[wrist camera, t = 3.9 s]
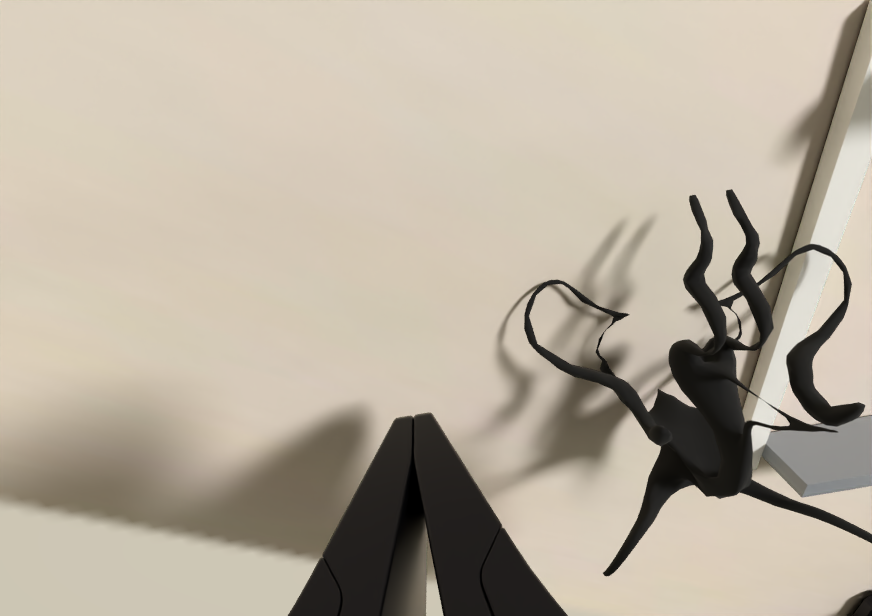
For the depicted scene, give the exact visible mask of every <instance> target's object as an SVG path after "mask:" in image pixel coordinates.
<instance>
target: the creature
mask: <svg viewBox="0 0 872 616" xmlns="http://www.w3.org/2000/svg"><path fill="white" fill-rule="evenodd" d="M726 196H727V199H728V202H729V205H730V207H731V210H732V212H733V215H734V216H735V218H736V219H737V221H738V222H739V224H740V225H741V227H742V229H743V231H744V233H745V235H746V245H745V247H744V249H743V251H742V252H741V254H740V255H739V256H738V258H737V259H736V261H735V263H734V265H733V268H732V279H733V283H734V285H735V286H736V287H737V288H738V290H739V291H740V292H739V293H737V294H735V295H733V296H731V297H728V298H726V299H723V300H720V301H718V299H717V297H716V296H715V295H714V293H713V292H712V291H711V289H710V288H709V287H708V285H707V284H706V282H705V277H704V273H705V271H706V269H707V267H708V266H709V264H710V262H711V259H712V253H713V239H712V237H711V235H710V232H709V230H708V227H707V221H706V218H705V216H704V213H703V211H702V208H701V206H700V203H699V201H698V199H697V197H696V195H692V196H689V202H690V206H691V210H692V212H693V215H694V217H695V219H696V222H697V224H698V226H699V228H700V230H701V245H700V250H699V253H698V255H697V258H696V260H695V261H694V262H693V263H692V264H691V265H690V267H689V268H688V269H687V271H686V273H685V275H684V278H683V281H684V285H685V288H686V290H687V291H688V292H689V293H690V294H691V295H692V297H693V298H694V299H695V300H696V301H697V302H698V304H699V305H700V306H701V308H702V310H703V312H704V314H705V316H706V319H707V321H708V323H709V325H710V327H711V329H712V331H713V334H714V338H712V339H710V340H709V341H708V343H707V344H706V346H705V347H704V348H703V349H701V348H700V347H699V346H698V345H696V344H695V343H694V342H692V341H691V340H681V341H678V342H676V343H674V344H673V345H672V346H671V348H670V350H669V365H670V368H671V371H672V374H673V377H674V378H675V380H676V382H677V383H678V385H679V387H680V388H681V390H682V391H683V392H684V394H685V395H686V396H687V397H688V398H689V399H690V400H691V402H692V403H693V404H694V405H695V406H696V407H697V408H694V407H689V406H688V405H686V404H684V403H682V402H681V401H679V400H678V399H677V398H675V397H674V396H672V395H669V394H666V393H664V392H663V391H661V390H659V389H658V394H657V398H656V400H655V403H654V407H653V408H652V409H651V410H650V411H649V412H648V411H647V410H646V408H645V406H644V404H643V403H642V401H641V399H640V397H639V396H638V394H637V392H636V391H635V390H634V389H633V388H632V387H631V386H630V385H629V383H627V382H626V381H624V380H623V379H620V378H618V377H616V376H615V375H614V373H613V372H612V371H611V370H610V368H609V366H608V363H607V361H606V360H605V359H604V358H603V357H601V356H600V354H599V351H598V347H599V345H600V342H601V340H602V337H603V334H604V333H603V334H602V336H601V337H600V338H599V342H598V346H597V349H596V354H597V355H598V357H599V358H600V359H601V360H602V363H601V367H600V370H601V372H600V371H596V370H593V369H589V368H584V367H580V366H575V365H571V364H569V363H567V362H566V361H564V360H563V359H561V358H559V357H558V356H556V355H554V354H553V353H551V352H550V351H548V350H546V349H545V348H543V347H541V346H540V345H538V344H537V341H536V338H535V335H534V331H533V328H532V325H531V321H530V318H529V314H530V311H531V309H532V306H533V303H534V300H535V297H536V295H537V294H538V293H539V292H540V291H542V290H543V289H544V288H545V287H546V286H547V285H552V284H563V285H564V286H566V287H568V288H569V289H570V290H571V291H572V292H573V293H574V294H575V295H576V296H577V297H578V298H579V299H580V300H581V301H582V302H584V303H586V304H588V305H590V306H592V307H594V308H597V309H599V310H601V311H603V312H605V313H608V314H610V315H611V316H613V321H612V323H611V325H610V326H612V325H613V324H614V323H615V322H616V321H618V320H621V319H623V318H624V317H626V316H628V315H629V314H626V313H619V312H615V311H612V310H609V309H605V308H602V307H599V306H597V305H596V304H595V303H593V302H592V301H591V300H589V299H588V298H587V297H585V296H584V295H583V294H581V293H580V292H579V291H577V290H576V289H575V288H573V287H572V286H570V285H569V284H567V283H566V282H564V281H560V280H549V281H547V282H544V283H543V284H542V285H541V286H539V287H538V288H537V289H536V291H535V292H534V293H533V295H532V296H531V298H530V300H529V302H528V303H527V307H526V311H525V323H524V329H525V332H526V335H527V338H528V341H529V343H530V344H531V346H532V347H533V348H534V349H535V350H536V351H537V352H538V353H539V354H540V355H542V356H543V357H544V358H546V359H547V360H548V361H550V362H551V363H552V364H553V365H554V366H556V367H557V368H558V369H560V370H562V371H564V372H566V373H568V374H570V375H572V376H574V377H577V378H581V379H585V380H589V381H593V382H596V383H599V384H601V385H604V386H606V387H608V388H610V389H613V390H614V392H615V393H616V394H617V396H618V397H619V399H620V400H621V401H622V402H623V403H624V404H625V405H626V406H627V407H628V408H629V409H630V410H631V411H632V413H633V414H634V416H635V418H636V419H637V421H638V422H639V424H640V425H641V427H642V428H643V430H644V431H645V433H646V435H647V436H648V438H649V439H650V440H651V441H653V442H654V443H655V444H657V445H659V446H661V450H660V454H659V456H658V458H657V460H656V462H655V464H654V467H653V469H652V471H651V473H650V475H649V478H648V482H647V487H646V491H645V495H644V499H643V503H642V507H641V510H640V513H639V515H638V518H637V520H636V522H635V524H634V526H633V528H632V529H631V531H630V533H629V535H628V537H627V538H626V540H625V542H624V544H623V545H622V547H621V549H620V550H619V552H618V554H617V555H616V557H615V558H614V560H613V561H612V563H611V564H610V566H609V567H608V568H607V570H606V571H605V572H603V574H604V575H605V576H610V575H611V574H612V573H614V572H615V571H616V570H617V569H618V568H619V567H620V565H621V564H622V563H623V562H624V561H625V559H626V558H627V557H628V555H629V554H630V553H631V551H632V550H633V549H634V547H635V546H636V545H637V543H638V542H639V540H640V539H641V538H642V536H643V535H644V534H645V532H646V531H647V530H648V528H649V527H650V526H651V524H652V523H653V522H654V520H655V518H656V516H657V515H658V513H659V511H660V509H661V507H662V506H663V505H664V503H665V502H666V501H667V500H668V498H669V497H670V496H671V495H672V494H674V493H675V492H677V491H678V490H680V489H682V488H685V487H687V486H691V485H695V486H696V487H698V488H699V489H700V490H701V491H702V492H703V493H704V494H705V495H706V497H708V496H716V497H718V498H719V499H721V498H724V497H730V496H734V495H737V494H738V493H739V492H740V493H743V494H746V495H749V496H752V497H754V498H757V499H759V500H762V501H764V502H767V503H769V504H772V505H774V506H777V507H781V508H784V509H788V510H791V511H794V512H797V513H801V514H804V515H807V516H810V517H813V518H816V519H819V520H821V521H824V522H827V523H829V524H832V525H834V526H836V527H839V528H841V529H843V530H845V531H848V532H850V533H852V534H854V535H856V536H858V537H860V538H862V539H864V540H866V541H868V542H870V543H872V534H870V533H869V532H867V531H865V530H863V529H861V528H859V527H857V526H855V525H853V524H851V523H849V522H847V521H845V520H843V519H841V518H839V517H837V516H835V515H832V514H830V513H828V512H826V511H824V510H821V509H819V508H816V507H813V506H810V505H807V504H803V503H800V502H798V501H795V500H792V499H790V498H788V497H785V496H783V495H781V494H779V493H777V492H775V491H773V490H770V489H768V488H766V487H765V486H763V485H761V484H759V483H757V482H755V481H753V480H751V478H752V458H753V446H752V435H751V430H752V428H753V426H755V425H758V426H762V427H766V428H770V429H774V430H791V431H807V432H819V431H825V432H834V433H838V431H836V430H831V429H827V428H822V427H818V426H813V425H809V424H806V423H804V422H802V421H800V420H797V419H795V418H793V417H791V416H789V415H787V414H786V413H784V412H782V411H781V410H779V409H777V408H775V407H774V406H772V405H770V404H769V403H767V402H766V401H765V402H766V403H767V404H768V405H770V406H771V407H772V408H773V409H775V410H776V411H778V412H779V413H780V414H782V415H783V416H785V417H786V418H787V420H788V421H789V423H790V425H789V426H781V427H780V426H772V425H767V424H764V423H760V422H757V421H752V420H749V421H746V422H745V419H744V416H743V412H742V408H741V403H740V399H739V395H738V388H737V385H738V386H740V387H742V388H743V389H745V390H746V391H748V392H749V393H751V394H753V395H755V396H756V397H758V398H760V397H759V396H757V395H756V394H754V393H753V392H752V391H750V390H749V389H748V388H747V387H745V386H744V385H743V384H742V383H741V382H740V381H739V380H738V379H737V378H736V358H735V354H734V351H733V350H750V351H756V350H757V349H759V348H761V347H762V346H763V345H764V343H765V342H766V340H767V339H768V337H769V335H770V334H771V332H772V330H773V329H774V325H773V320H772V314H771V308H770V305H769V304H768V302H767V300H766V298H765V297H764V295H763V293H762V291H761V290H760V288H759V285H761V284H762V283H764V282H765V281H767V280H768V279H770V278H771V277H773V276H774V275H776V274H777V273H778V272H779V271H780V270H781V269H782V268H783V267H784V266H785V265H786V264H788V263H789V262H790V261H791V260H792V259H793V258H794V257H795V256H796V255H799V254H802V253H805V252H808V251H811V250H815V251H818V252H820V253H822V254H825V255H827V256H829V257H831V258H832V259H833V260H834V261H835V263H836V264H837V265H838V266H839V268H840V269H841V270H842V271H843V275H844V301H843V302H842V303H841V304H840V306H839V307H838V308H837V309H836V310H835V311H834V313H833V314H832V315H831V316H830V317H829V318H828V320H827V321H826V322H825V323H824V324H823V325H822V327H821V328H820V329H819V330H818V331H817V332H815V333H813V334H812V335H810V336H808V337H807V338H805V339H804V340H802V341H800V342H799V343H797V344H796V345H795V346H794V347H793V348H792V349H791V350H790V352H789V353H788V354H787V356H786V365H787V369H788V375H789V381H790V385H791V388H792V391H793V393H794V394H795V396H796V397H797V399H798V400H799V402H800V403H801V405H802V407H803V408H804V409H805V410H806V411H807V413H808V414H809V415H811V416H812V417H813V418H814V419H816V420H817V421H819V422H821V423H823V424H824V425H827V426H835V427H837V426H840V425H843V424H846V423H848V422H851V421H853V420H855V419H857V418H858V417H859V416H860V415H861V414H862V412H863V411H864V408H865V405H864V404H861V403H859V402H858V403H853V404H846V405H838V406H832V407H831V406H830V405H829V403H828V402H827V401H826V400H825V399H824V398H823V397H822V396H821V395H820V393H819V392H818V391H817V390H816V389H815V387H814V384H813V370H812V361H813V358H814V356H815V354H816V353H817V351H818V350H819V348H820V347H821V346H822V345H823V344H824V343H825V342H826V341H827V340H828V339H829V338H830V336H831V335H832V333H833V332H834V331H835V329H836V328H837V326H838V325H839V324H840V322H841V321H842V319H843V318H844V315H845V313H846V310H847V307H848V302H849V297H850V291H851V285H852V283H851V280H850V277H849V274H848V271H847V268H846V266H845V265H844V263H843V262H842V261H841V259H840V258H839V257H838V256H837V255H836V254H835V253H833V252H832V251H831V250H830V249H828V248H826V247H823V246H821V245H817V244H808V245H805V246H803V247H801V248H799V249H797V250H795V251H794V252H793V253H792V254H790V255H789V256H788V257H787V258H786V259H785V260H784V261H782V262H781V263H780V264H779V265H778V266H777V267H775V268H774V269H773V270H772V271H771V272H770V273H768V274H767V275H766V276H765V277H764V278H763V279H762V280H760V281H759V282H758V283H756V281H755V280H754V278H753V277H752V275H751V274H750V273H751V270H752V268H753V266H754V265H755V263H756V261H757V255H758V248H759V244H760V241H759V235H758V233H757V232H756V231H755V229H754V228H753V226H752V225H751V223H750V221H749V219H748V217H747V215H746V213H745V211H744V210H743V208H742V206H741V204H740V202H739V200H738V199H737V197H736V195H735V193H734V192H733V190H732V189H731V190H726ZM741 296H744V297H745V298H746V300H747V302H748V305H749V307H750V309H751V312H752V314H753V317H754V319H755V321H756V324H757V326H758V329H759V331H760V342H758V343H756V344H754V345H753V346H751V347H748V346H745V345H744V344H742V343H741V342H739V341H738V340H739V339H740V337H741V335H742V330H741V321H740V319H739V318H738V316H737V314H736V313H735V312H734V311H733V310H732V309H731V306H732V304H733V301H734V300H736V299H737V298H739V297H741ZM721 306H725V307H728V308H729V309H730V310H731V311H733V312H734V313H735V314H736V316H737V319H738V324H739V329H740V332H739V335H738V337H737V338H735V339H733V338H731V337H728V336H727V330H726V316H725V314H724V312H723V310H722V308H721ZM610 326H609V327H610ZM609 327H608V328H609ZM608 328H607V329H608ZM607 329H606V330H607ZM606 330H605V331H606ZM605 331H604V332H605ZM760 399H761V398H760ZM762 400H763V399H762ZM763 401H764V400H763Z"/></svg>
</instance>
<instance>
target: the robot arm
mask: <svg viewBox="0 0 872 616" xmlns="http://www.w3.org/2000/svg"><path fill="white" fill-rule="evenodd" d="M427 533H428V538H429V543H430V548H431V554H432V559H433V564H434V569H435V574H436V579H437V584H438V590H439V595H440V600H441V605H442V610H443V615H444V616H568V615H567V614H566V613H565V612H564V611H563V609H562V608H561V607H560V606H559V604H558V603H557V602H556V601H555V599H554V598H553V597H552V596H551V595H550V593H549V592H548V591H547V589H546V588H545V587H544V585H543V584H542V583H541V581H540V580H539V579H538V577H537V576H536V575H535V574H534V572H533V571H532V570H531V568H530V567H529V565H528V564H527V562H526V561H525V559H524V558H523V556H522V555H521V553H520V552H519V550H518V549H517V548H516V546H515V545H514V543H513V541H512V540H511V538H510V537H509V535H508V533H507V532H506V530H505V529H504V528H502V524H501V523H500V521H499V519H498V518H497V516H496V515H495V513H494V511H493V510H492V508H491V507H490V505H489V504H488V502H487V500H486V499H485V497H484V496H483V494H482V492H481V491H480V489H479V488H478V486H477V484H476V483H475V481H474V480H473V478H472V476H471V475H470V473H469V472H468V470H467V468H466V467H465V465H464V464H463V462H462V460H461V459H460V457H459V456H458V454H457V452H456V451H455V449H454V448H453V446H452V444H451V443H450V441H449V440H448V438H447V436H446V435H445V433H444V432H443V430H442V429H441V427H440V425H439V424H438V422H437V421H436V419H435V417H434V416H433V414H432V413H423V414H417V415H415V416H414V418H413V417H412V416H405V417H399V418H396V419H395V420H394V421H393V423H392V425H391V427H390V429H389V431H388V433H387V435H386V436H385V438H384V440H383V442H382V444H381V446H380V448H379V450H378V451H377V453H376V455H375V457H374V459H373V461H372V463H371V464H370V466H369V468H368V470H367V472H366V474H365V476H364V478H363V479H362V481H361V483H360V485H359V487H358V489H357V491H356V493H355V494H354V496H353V498H352V500H351V502H350V504H349V506H348V507H347V509H346V511H345V513H344V515H343V517H342V519H341V521H340V522H339V524H338V526H337V528H336V530H335V532H334V534H333V536H332V537H331V539H330V541H329V543H328V545H327V547H326V549H325V551H324V552H323V558H320V559H319V561H318V563H317V565H316V567H315V569H314V571H313V573H312V575H311V576H310V578H309V580H308V582H307V584H306V585H305V587H304V589H303V591H302V593H301V594H300V596H299V598H298V600H297V601H296V603H295V605H294V606H293V608H292V610H291V611H290V613H289V614H288V616H426V575H427ZM853 616H872V595H871V596H869V597H867V598H866V599H865V600H864V601H863V602H862V603H861V605H860V606H859V607H858V609H857V610H856V611H855V613H854V614H853Z"/></svg>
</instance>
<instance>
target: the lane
mask: <svg viewBox="0 0 872 616" xmlns="http://www.w3.org/2000/svg"><path fill="white" fill-rule="evenodd" d="M871 158H872V0H870V1H869V5H868V8H867V11H866V14H865V17H864V21H863V24H862V27H861V30H860V34H859V37H858V40H857V43H856V46H855V50H854V53H853V56H852V59H851V63H850V66H849V69H848V72H847V75H846V79H845V82H844V85H843V88H842V92H841V95H840V98H839V101H838V104H837V108H836V111H835V114H834V117H833V121H832V124H831V127H830V130H829V133H828V137H827V140H826V143H825V146H824V150H823V153H822V156H821V159H820V162H819V166H818V169H817V172H816V175H815V179H814V182H813V185H812V188H811V191H810V195H809V198H808V201H807V204H806V208H805V211H804V214H803V217H802V220H801V224H800V227H799V230H798V233H797V237H796V240H795V243H794V246H793V249H792V253H793V252H794V251H795V250H797V249H799V248H801V247H803V246H805V245H808V244H817V245H821V246H823V247H826V248H828V249H830V250H831V251H832V252H833V253H835V254H836V253H837V250H838V247H839V245H840V242H841V239H842V237H843V234H844V231H845V229H846V226H847V223H848V220H849V218H850V215H851V212H852V210H853V207H854V204H855V202H856V199H857V196H858V193H859V191H860V188H861V185H862V183H863V180H864V177H865V174H866V172H867V169H868V166H869V164H870V161H871ZM792 253H791V254H792ZM833 261H834V260H833V259H832V258H831V257H829V256H827V255H825V254H822V253H820V252H818V251H815V250H811V251H808V252H805V253H802V254H799V255H796V256H795V257H794V258H793V259H792V260H791V261H790V262H789V263H788V266H787V269H786V272H785V275H784V278H783V282H782V285H781V288H780V291H779V295H778V298H777V301H776V304H775V307H774V311H773V314H772V320H773V325H774V329H773V330H772V332H771V334H770V335H769V337H768V339H767V340H766V342H765V343H764V345H763V346H762V349H761V353H760V356H759V359H758V362H757V366H756V369H755V372H754V375H753V378H752V382H751V385H750V388H749V390H750V391H752V392H753V393H754V394H756V395H757V396H759V397H760V398H761V399H760V398H758V397H756V396H755V395H753V394H751V393H749V392H748V395H747V398H746V401H745V404H744V407H743V411H742V412H743V416H744V419H745V422H746V421H749V420H752V421H757V422H760V423H764V424H767V425H772V426H773V423H774V421H775V418H776V415H777V413H778V411H776V410H775V409H773V408H772V407H771V406H770V405H772V406H774V407H775V408H777V409H779V407H780V404H781V402H782V399H783V396H784V394H785V391H786V388H787V385H788V383H789V375H788V369H787V365H786V356H787V354H788V353H789V352H790V350H791V349H792V348H793V347H794V346H795V345H796V344H797V343H799V342H800V341H802V340H804V339H805V337H806V334H807V331H808V329H809V326H810V323H811V321H812V318H813V315H814V312H815V310H816V307H817V304H818V302H819V299H820V296H821V293H822V291H823V288H824V285H825V283H826V280H827V277H828V275H829V272H830V269H831V266H832V264H833ZM762 399H763V400H764V401H763V400H762ZM765 401H766V402H767V403H769V404H770V405H768V404H767V403H766V402H765ZM813 426H818V427H822V428H827V429H831V430H836V431H838V433H834V432H825V431H819V432H807V431H791V430H782V431H776V432H770V431H771V429H770V428H766V427H762V426H758V425H755V426H753V428H752V430H751V435H752V446H753V458H752V470H755V469H757V467H758V464H759V461H760V459H761V456H762V457H763V458H764V459H765V460H766V461H767V462H768V463H769V464H770V465H771V466H772V467H773V468H774V469H775V470H776V471H777V472H778V473H779V475H780V476H781V477H782V478H783V479H784V480H785V481H786V482H787V483H788V484H789V485H790V486H791V487H792V488H793V489H794V490H795V491H796V492H797V493H798V494H799V495H800V496H801V497H808V496H814V495H820V494H826V493H832V492H838V491H844V490H850V489H856V488H862V487H868V486H872V415H871V416H865V417H859V418H857V419H855V420H853V421H851V422H848V423H846V424H843V425H840V426H837V427H835V426H827V425H824V424H818V425H813Z"/></svg>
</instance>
